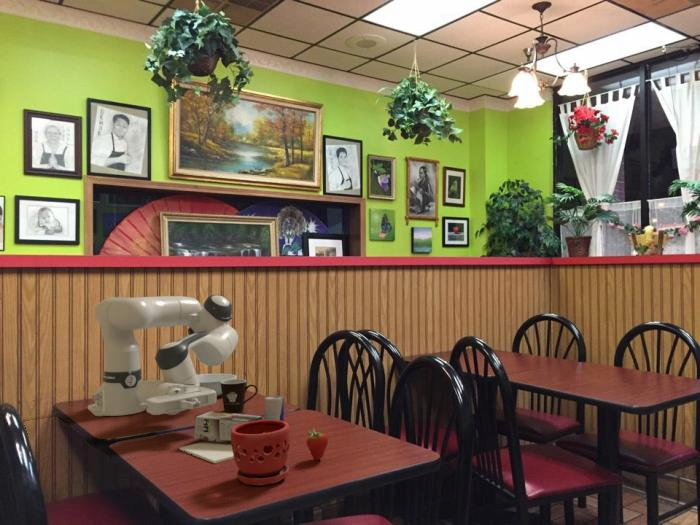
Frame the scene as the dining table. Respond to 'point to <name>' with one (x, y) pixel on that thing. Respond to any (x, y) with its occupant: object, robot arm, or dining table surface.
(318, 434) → the fruit
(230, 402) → the coffee mug
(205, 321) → the robot arm
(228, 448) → the mat
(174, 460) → the dining table surface
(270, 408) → the energy drink
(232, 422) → the coffee box
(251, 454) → the plant pot
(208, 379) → the serving bowl
